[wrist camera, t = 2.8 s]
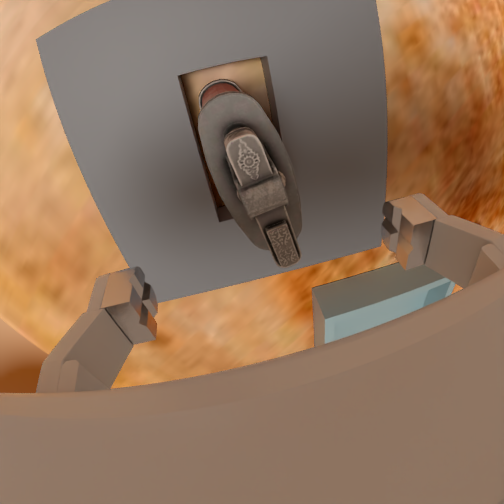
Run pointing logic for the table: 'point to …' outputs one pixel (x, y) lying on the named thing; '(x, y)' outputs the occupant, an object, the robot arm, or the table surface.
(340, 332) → the parts tray
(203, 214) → the gray plate with hole
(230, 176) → the lighter
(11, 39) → the table surface
